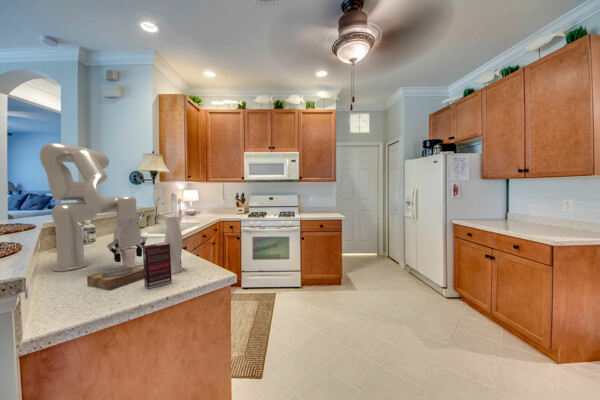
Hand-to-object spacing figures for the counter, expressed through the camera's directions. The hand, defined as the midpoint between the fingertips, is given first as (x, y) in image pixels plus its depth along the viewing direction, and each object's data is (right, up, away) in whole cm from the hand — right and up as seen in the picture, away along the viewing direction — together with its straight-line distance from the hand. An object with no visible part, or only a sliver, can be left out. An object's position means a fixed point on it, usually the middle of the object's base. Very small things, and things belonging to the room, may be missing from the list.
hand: (129, 259), depth 113 cm
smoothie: (0, -5, 0) cm, 5 cm away
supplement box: (+25, -5, -20) cm, 33 cm away
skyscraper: (+24, -5, -4) cm, 25 cm away
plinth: (+7, -5, -15) cm, 18 cm away
